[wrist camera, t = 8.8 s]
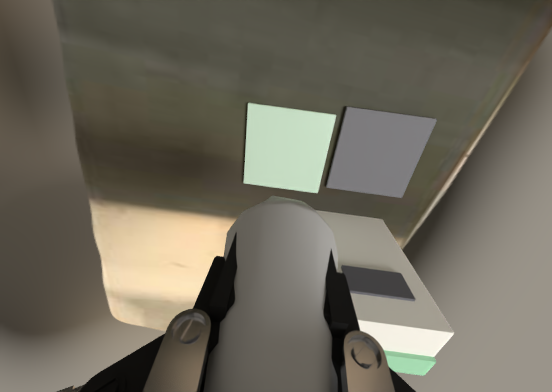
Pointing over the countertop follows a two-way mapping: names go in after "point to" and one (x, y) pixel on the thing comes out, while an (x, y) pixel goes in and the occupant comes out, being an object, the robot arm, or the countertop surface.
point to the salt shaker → (276, 304)
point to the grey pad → (378, 151)
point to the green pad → (286, 147)
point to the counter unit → (388, 293)
